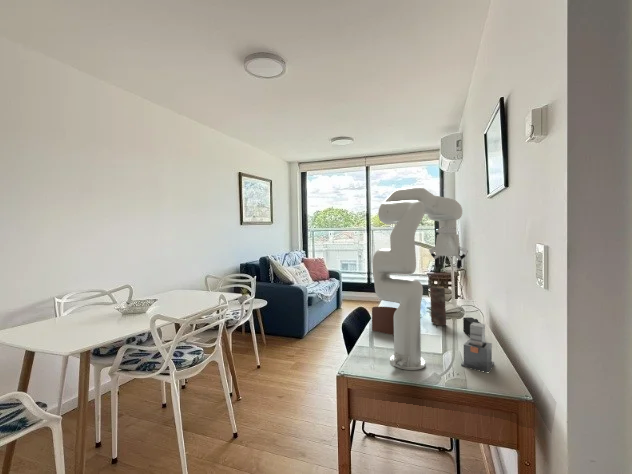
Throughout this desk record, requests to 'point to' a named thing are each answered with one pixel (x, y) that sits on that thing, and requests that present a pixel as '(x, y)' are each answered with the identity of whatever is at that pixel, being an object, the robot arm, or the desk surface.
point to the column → (477, 334)
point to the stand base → (478, 357)
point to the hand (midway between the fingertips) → (448, 267)
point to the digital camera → (468, 324)
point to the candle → (438, 305)
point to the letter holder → (383, 319)
